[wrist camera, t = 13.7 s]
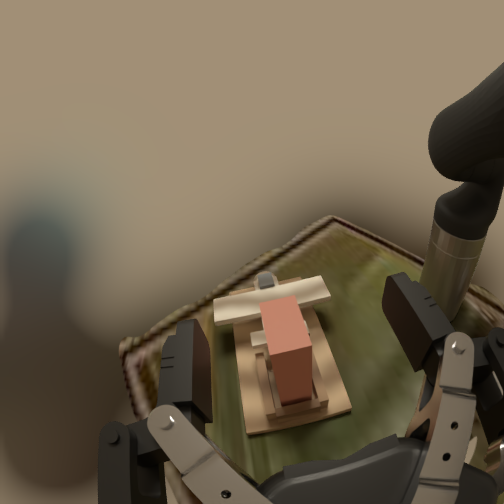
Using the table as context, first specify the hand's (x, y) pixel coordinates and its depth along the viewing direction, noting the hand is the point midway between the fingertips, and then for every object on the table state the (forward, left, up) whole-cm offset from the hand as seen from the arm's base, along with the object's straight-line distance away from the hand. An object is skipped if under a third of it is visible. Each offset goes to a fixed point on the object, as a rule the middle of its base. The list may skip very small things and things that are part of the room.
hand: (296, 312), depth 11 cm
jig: (-13, -14, -28) cm, 34 cm away
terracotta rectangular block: (-7, -8, -27) cm, 29 cm away
